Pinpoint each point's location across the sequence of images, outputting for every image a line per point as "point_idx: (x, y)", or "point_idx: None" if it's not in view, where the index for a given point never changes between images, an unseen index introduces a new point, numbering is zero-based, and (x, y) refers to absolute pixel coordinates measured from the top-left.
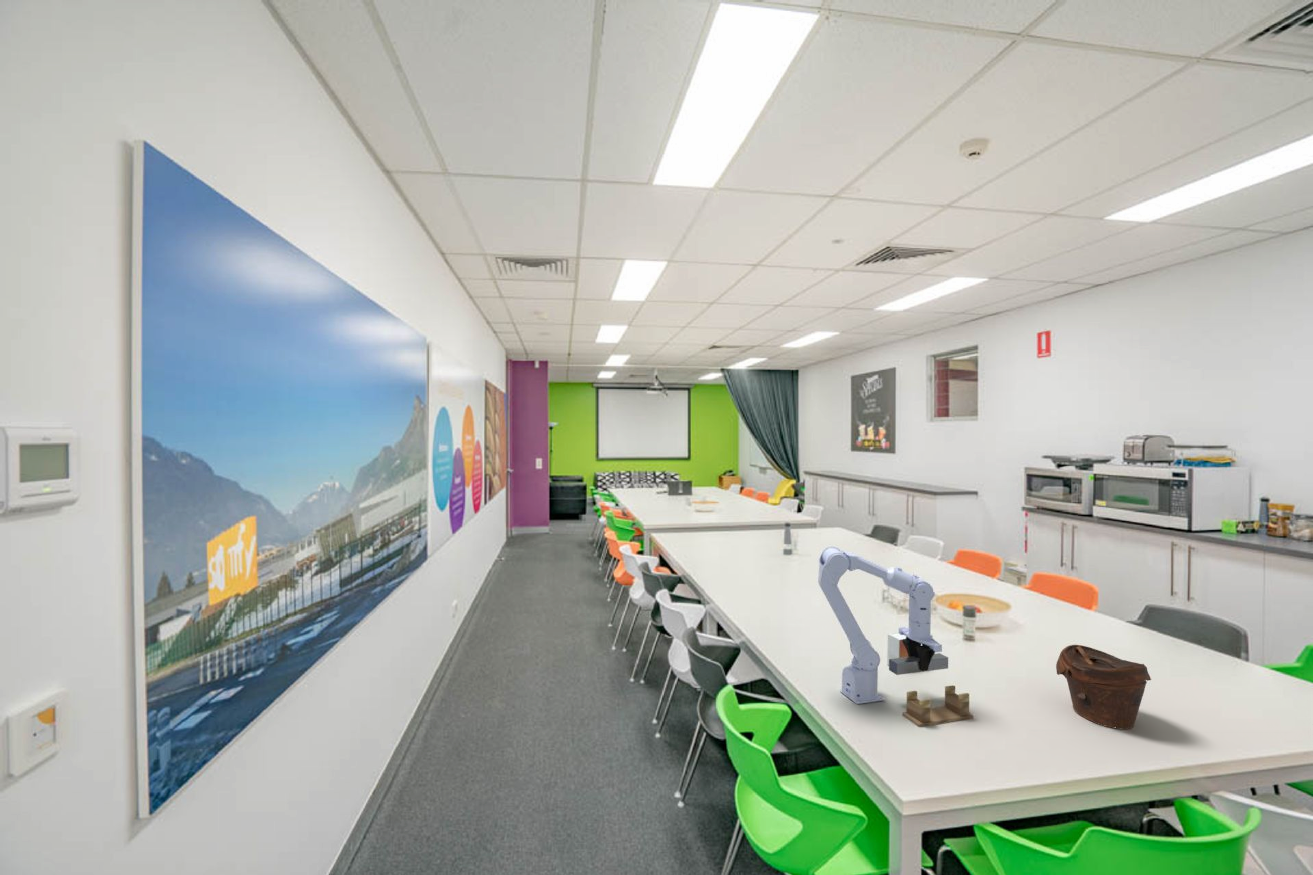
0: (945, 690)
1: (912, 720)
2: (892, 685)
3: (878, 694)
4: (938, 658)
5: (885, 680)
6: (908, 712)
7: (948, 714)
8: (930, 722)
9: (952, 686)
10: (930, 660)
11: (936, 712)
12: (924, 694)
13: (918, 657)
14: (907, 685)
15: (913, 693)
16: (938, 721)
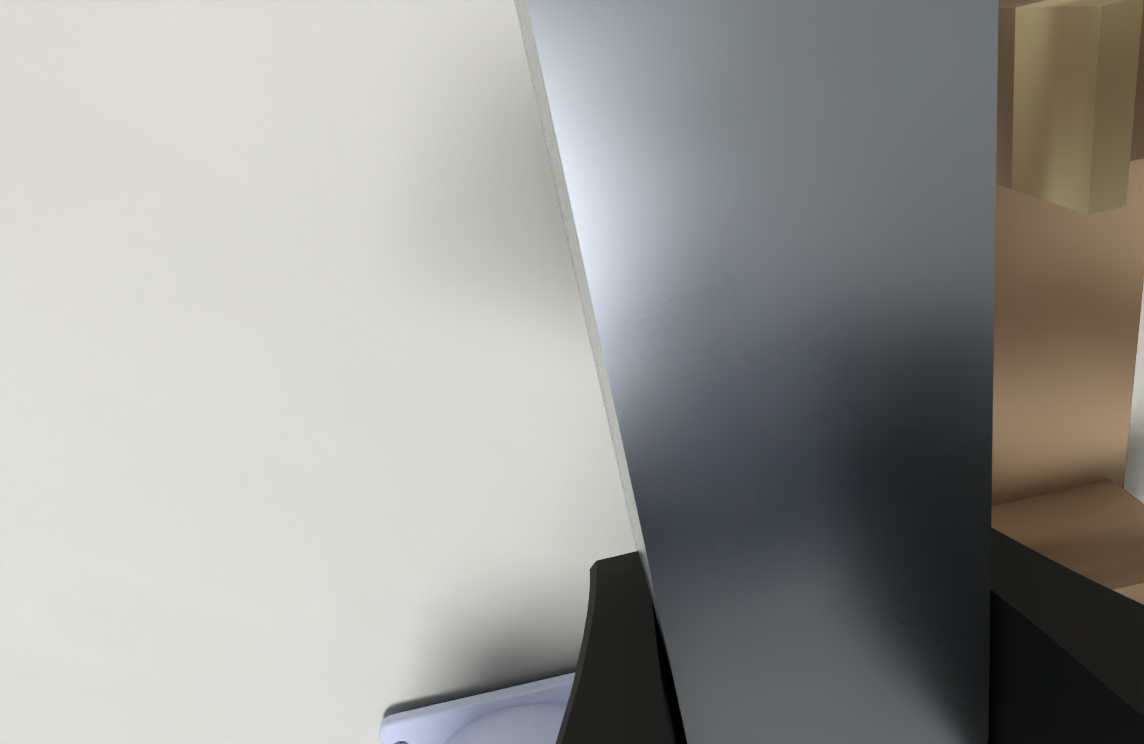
0: (1052, 196)
1: None
2: (278, 451)
3: (550, 686)
4: (982, 214)
5: (142, 473)
6: None
7: (1064, 220)
8: (1118, 481)
9: (1132, 67)
10: (1125, 603)
11: (995, 332)
12: (506, 180)
13: (792, 737)
14: (253, 271)
15: None
16: (1125, 397)
